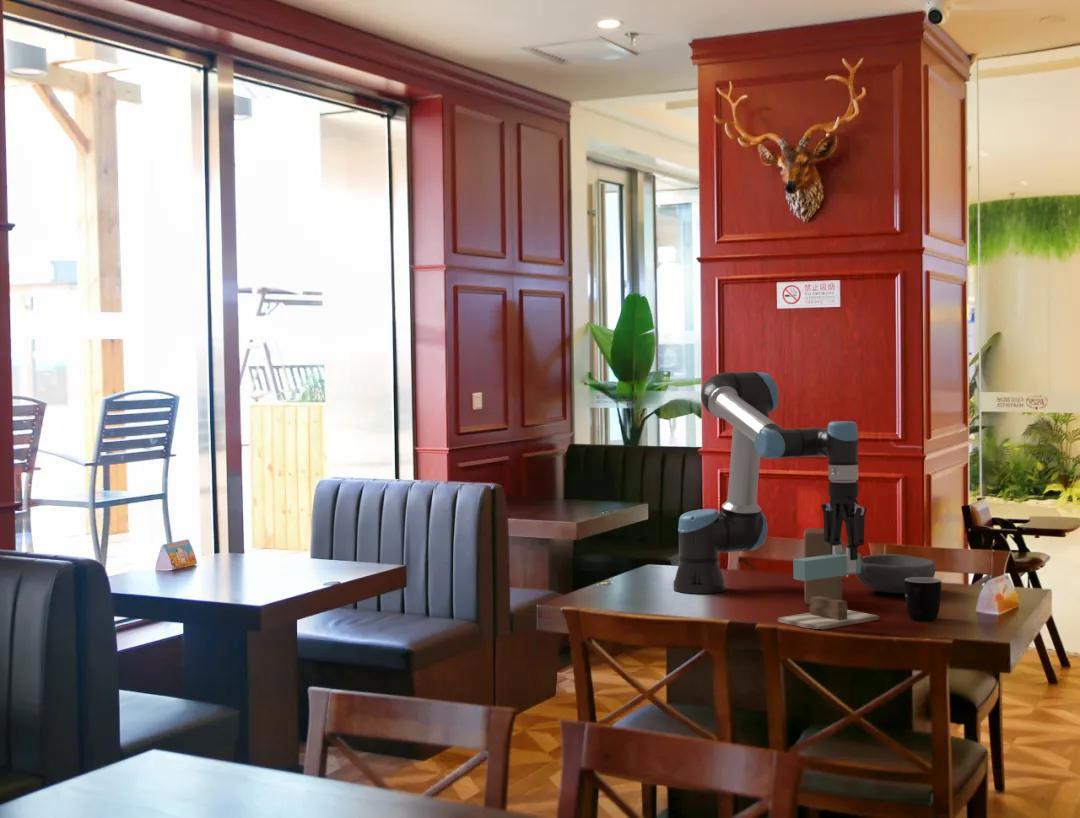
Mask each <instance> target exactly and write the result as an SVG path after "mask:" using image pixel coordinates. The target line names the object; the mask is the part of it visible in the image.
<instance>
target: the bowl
mask: <svg viewBox="0 0 1080 818" xmlns="http://www.w3.org/2000/svg"><path fill="white" fill-rule="evenodd" d="M860 558H861V573H858V574H855V576H856V578H857V580H858V581H859V582H860V583H861V584H862V585H864V587H867V588H868V589H871V590H874V591H877V592H881V593H885V594H896V595H897V594H899V595H905V579H906V578H911V577H928V578H935V573H936V567H937V566H936V563H935V562H934V560H932V559H929V558H925V557H918V556H913V555H905V554H891V553H887V554H886V553H880V554H870V555H864V556H860Z"/></svg>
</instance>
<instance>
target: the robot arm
mask: <svg viewBox="0 0 1080 818" xmlns="http://www.w3.org/2000/svg"><path fill="white" fill-rule="evenodd" d="M700 397H701V398H700V401H701V403H702V405H703V408H704V409H705V410H706V411H707V412H709V414H711V415H712V417H715V418H717V419H723V420H724V421H726V422H727V423H728V424H730V425H731V426H732V437H731V448H730V450H731V451H730V461H729V462H730V464H729V474H728V475H729V477H728V486H727V487H728V488H727V498H726V499H727V500H726V501H725V502H724V503H722V504H721V510H720V513H719V511H718V510H717V509H714V508H704V509H696V510H689V511H687V512H685V513H683V514H681V515H680V517H679V518H678V528H677V532H678V567H677V569H676V574H675V577H674V578H675V579H674V581H673V591H675V592H678V593H682V594H683V593H684V594H696V595H697V594H699V595H700V594H701V595H702V594H703V595H704V594H714V593H715V594H717V593H722V592H724V591H726V582H725V581H726V580H724V577H723V573H722V570H721V567H720V562H719V560H720V559H719V558H720V557H719V554H720V553H723V554H724V553H735V552H742V553H743V552H749V551H755V550H758V549H759V548H761V546H763V544H765V542H766V539H767V536H768V529H769V526H768V523H767V521H768V520H767V517H766V516H765V514H764V513H763V512H762V507H761V506H760V505H759V504H758V503H757V499H758V486H759V476H760V475H759V474H760V465H761V458H762V459H771V460H775V459H776V460H777V459H787V458H788V459H789V458H810V457H811V458H813V457H815V458H816V457H823V458H824V457H826V458H827V460H828V461H827V463H828V464H827V465H828V467H827V468H828V472H827V473H828V480H829V483H828V496H830V499H829V502H827V503H824V504H821V505H820V506H821V511H822V514H823V529H824V540H825V542H828V543H830V545H831V554H839V553H843V544H842V545H838V544H841V542H840V536H842V529H843V522H844V525H845V530H846V531H845V532H846V537H847V543H848V545H846V548H845V553H846V570H847V573H853V572H856V560H857V558H858V556H857V555H858V554H859V552H858V548H859V547H860V546H861V547H862V546H864V545H865V520H866V519H865V518H866V517H865V516H866V512H867V510H868V509H867V508H866V507H865V506H860V505H859V503H858V500H857V499H858V498H857V497H858V496H859V483H858V480H859V434H858V425H857V423H856V422H855V421H846V420H845V421H840V420H839V421H838V420H837V421H830V422H829V423H828V424H827V428H826V427H825V428H824V427H823V428H822V427H819V426H818V427H808V428H783V427H781V425H779V424H777V423H776V422H774V421H773V420H771V418H770V417H769V416H770V413H772V412H773V411H775V410H776V409H777V407H778V405H779V399H780V398H779V397H780V396H779V388H778V386H777V383H776V382H775V379H774V378H773V377H772V375H770V374H769V373H766V372H760V371H758V372H757V371H738V372H719V373H716V374H714V375H712V376H711V377H709V378H708V379H707V380H706V381H705V383H704V384H703V386H702V388H701V394H700Z"/></svg>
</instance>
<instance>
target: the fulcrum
mask: <svg viewBox="0 0 1080 818" xmlns="http://www.w3.org/2000/svg"><path fill="white" fill-rule="evenodd" d="M878 620H880V616H879V615H877V614H872V613H866V612H862V611H855V610H852V609H851V610H850V609H848V600H843V599H842V600H837V599H832V598H826V597H821V596H815V597H810V605H809V612H805V613H800V614H799V613H798V614H793V615H787V616H786V615H785V616H780V617H777V622H779V623H782V624H787V625H791V626H797V627H802V628H807V629H810V628H813V629H812V630H814V629H821V630H827V629H828V630H829V629H832V628H838V627H839V628H840V627H845V626H846V627H847V626H850V625H856V624H862V623H868V622H872V621H878Z"/></svg>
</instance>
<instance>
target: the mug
mask: <svg viewBox="0 0 1080 818" xmlns="http://www.w3.org/2000/svg"><path fill="white" fill-rule="evenodd" d="M904 595H905V605H906V610H907V614H908V616H909V618H910V620H912V621H917V622H933V621H936V620H937V618H938V617H939V613H940V608H941V607H940V606H941V598H942V597H941V595H942V580H941V579H939V578H935V577H933V578H928V577H911V578H906V579H905V594H904Z"/></svg>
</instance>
